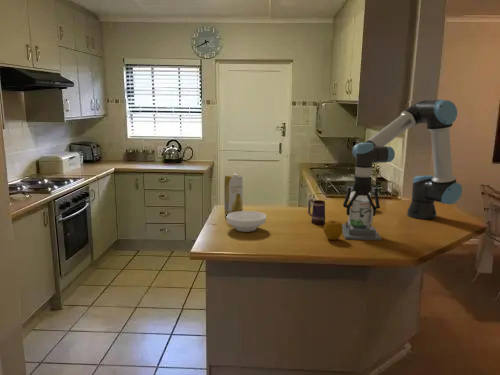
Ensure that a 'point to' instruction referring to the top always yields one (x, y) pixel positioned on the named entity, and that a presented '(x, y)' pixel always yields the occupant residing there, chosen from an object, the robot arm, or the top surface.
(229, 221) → the bowl
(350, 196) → the cup
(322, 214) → the mug
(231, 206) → the juice carton
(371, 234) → the tray
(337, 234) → the apple
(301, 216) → the top surface
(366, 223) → the ink box
